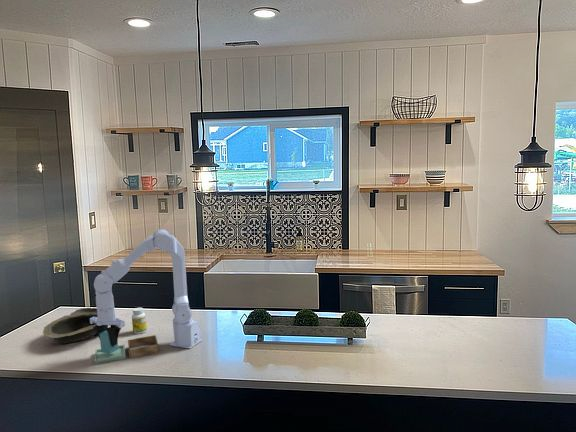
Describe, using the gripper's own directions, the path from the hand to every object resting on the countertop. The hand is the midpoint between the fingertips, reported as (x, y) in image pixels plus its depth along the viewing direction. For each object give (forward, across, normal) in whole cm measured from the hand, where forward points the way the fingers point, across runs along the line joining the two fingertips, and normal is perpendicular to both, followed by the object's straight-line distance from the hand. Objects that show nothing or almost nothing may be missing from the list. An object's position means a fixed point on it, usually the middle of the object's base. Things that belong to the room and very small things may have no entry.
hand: (109, 344), depth 160 cm
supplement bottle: (+5, -6, +22) cm, 23 cm away
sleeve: (+4, +8, +8) cm, 12 cm away
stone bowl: (+5, -26, +9) cm, 28 cm away
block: (+2, 0, 0) cm, 2 cm away
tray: (+4, 0, 0) cm, 4 cm away
